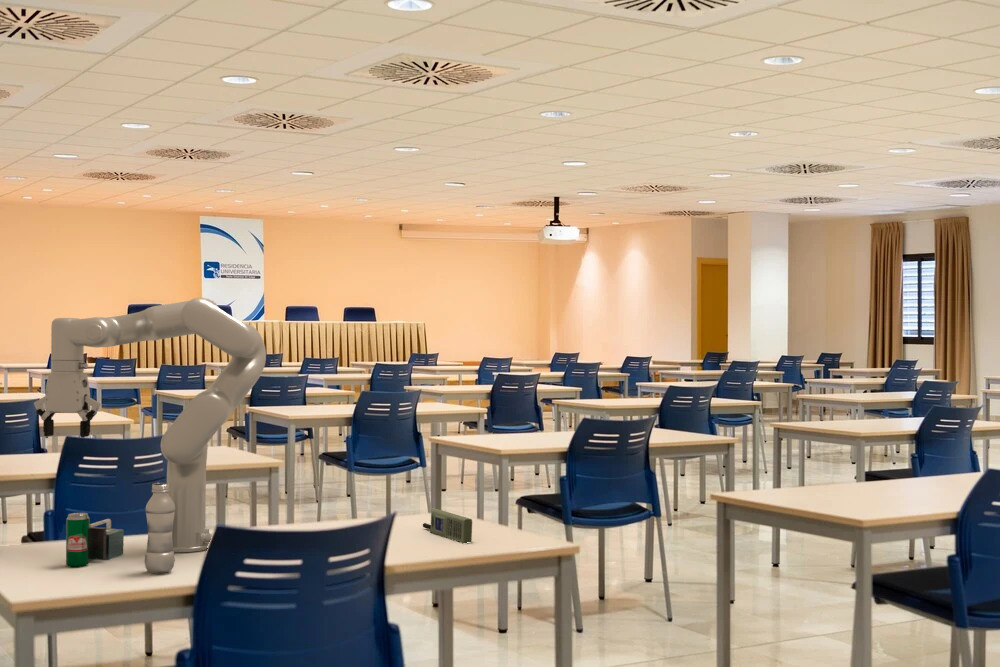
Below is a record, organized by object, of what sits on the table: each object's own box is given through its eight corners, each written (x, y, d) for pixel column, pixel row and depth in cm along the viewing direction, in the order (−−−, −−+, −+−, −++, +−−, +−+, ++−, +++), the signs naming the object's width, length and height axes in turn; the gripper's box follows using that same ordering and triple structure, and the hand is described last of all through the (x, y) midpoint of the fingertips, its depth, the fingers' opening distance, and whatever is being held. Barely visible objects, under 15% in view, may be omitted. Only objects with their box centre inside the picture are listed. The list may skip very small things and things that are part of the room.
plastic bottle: (163, 568, 256) (164, 481, 256) (180, 572, 252) (181, 483, 252) (138, 572, 251) (139, 484, 251) (155, 577, 247) (156, 486, 247)
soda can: (64, 568, 255) (65, 516, 255) (67, 564, 260) (67, 512, 260) (88, 567, 256) (88, 515, 257) (90, 563, 261) (90, 511, 261)
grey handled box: (103, 559, 262) (103, 526, 262) (71, 557, 263) (72, 524, 263) (124, 551, 272) (124, 519, 272) (93, 550, 273) (94, 518, 273)
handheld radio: (462, 544, 289) (418, 530, 310) (473, 544, 291) (429, 529, 312) (463, 519, 289) (419, 506, 311) (474, 518, 291) (430, 505, 312)
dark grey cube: (108, 559, 265) (108, 534, 265) (81, 558, 267) (81, 533, 267) (123, 554, 272) (123, 529, 272) (96, 553, 273) (97, 528, 273)
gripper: (107, 367, 279) (106, 435, 279) (44, 366, 282) (43, 434, 282) (91, 368, 272) (90, 438, 272) (26, 367, 275) (26, 436, 275)
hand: (66, 436), depth 277 cm, fingers open, 9 cm apart
